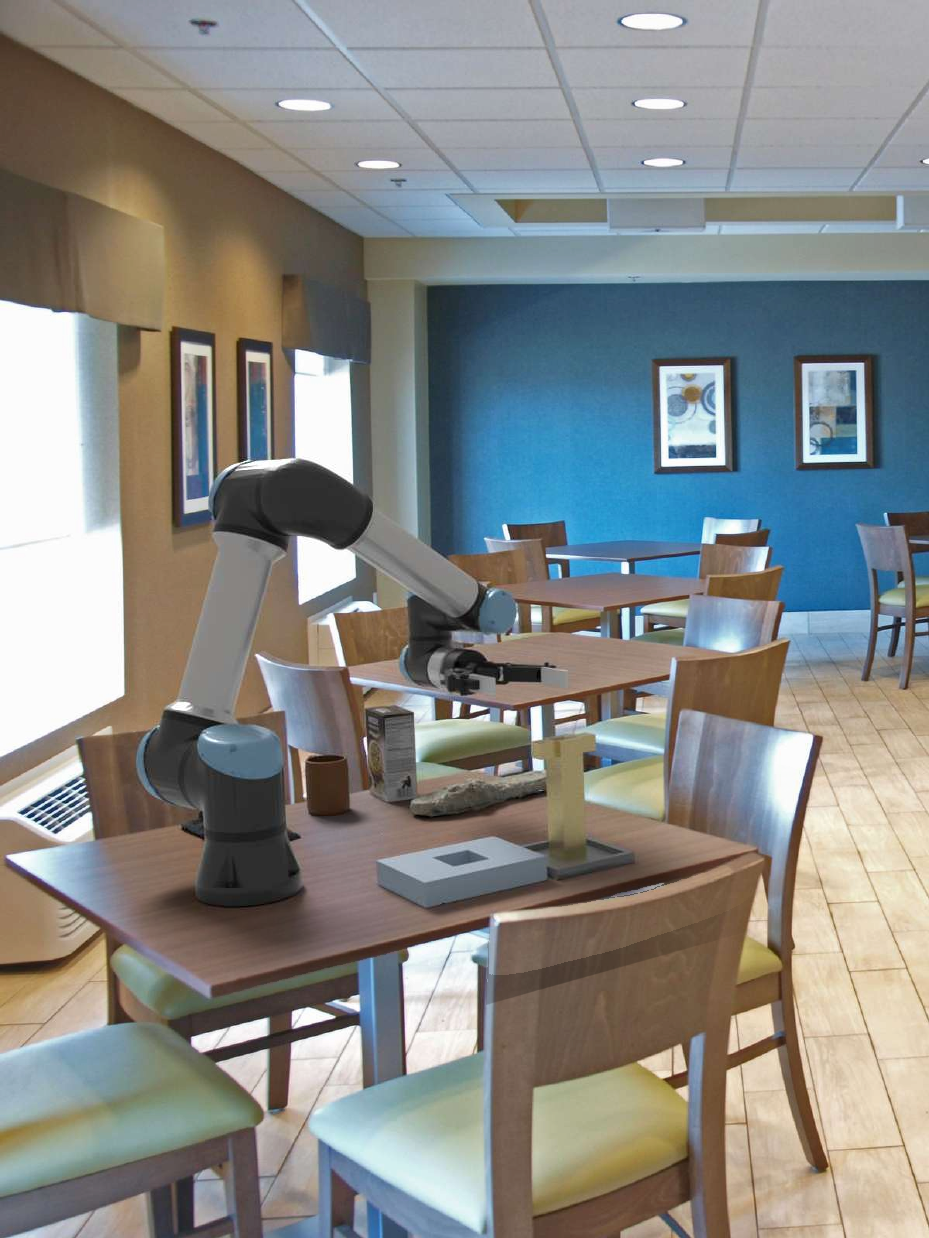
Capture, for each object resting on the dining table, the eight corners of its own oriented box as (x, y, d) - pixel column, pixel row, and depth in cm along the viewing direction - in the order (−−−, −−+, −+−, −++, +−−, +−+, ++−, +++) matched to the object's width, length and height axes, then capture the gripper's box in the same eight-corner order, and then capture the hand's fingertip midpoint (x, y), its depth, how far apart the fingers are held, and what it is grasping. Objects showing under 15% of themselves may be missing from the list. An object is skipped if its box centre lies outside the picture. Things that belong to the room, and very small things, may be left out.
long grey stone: (580, 794, 253) (543, 789, 261) (579, 765, 253) (542, 761, 261) (434, 821, 231) (397, 815, 238) (433, 790, 231) (396, 784, 238)
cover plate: (425, 907, 186) (424, 882, 185) (377, 883, 198) (376, 860, 197) (547, 879, 196) (546, 855, 196) (494, 858, 208) (493, 836, 208)
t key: (548, 865, 201) (543, 744, 199) (532, 859, 204) (527, 740, 202) (602, 853, 206) (598, 735, 204) (586, 847, 209) (582, 731, 208)
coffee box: (368, 793, 255) (363, 707, 253) (400, 788, 258) (395, 703, 256) (386, 803, 247) (381, 714, 245) (419, 798, 249) (414, 710, 248)
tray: (557, 879, 196) (556, 869, 196) (503, 858, 208) (503, 849, 207) (634, 861, 203) (634, 852, 203) (578, 842, 215) (578, 833, 215)
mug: (292, 805, 248) (288, 754, 247) (330, 798, 252) (328, 748, 251) (317, 818, 238) (313, 765, 237) (357, 811, 241) (354, 759, 240)
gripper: (522, 686, 237) (596, 699, 218) (394, 699, 224) (462, 715, 206) (521, 642, 236) (595, 652, 218) (393, 653, 223) (460, 665, 205)
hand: (530, 683), depth 212 cm, fingers open, 13 cm apart
